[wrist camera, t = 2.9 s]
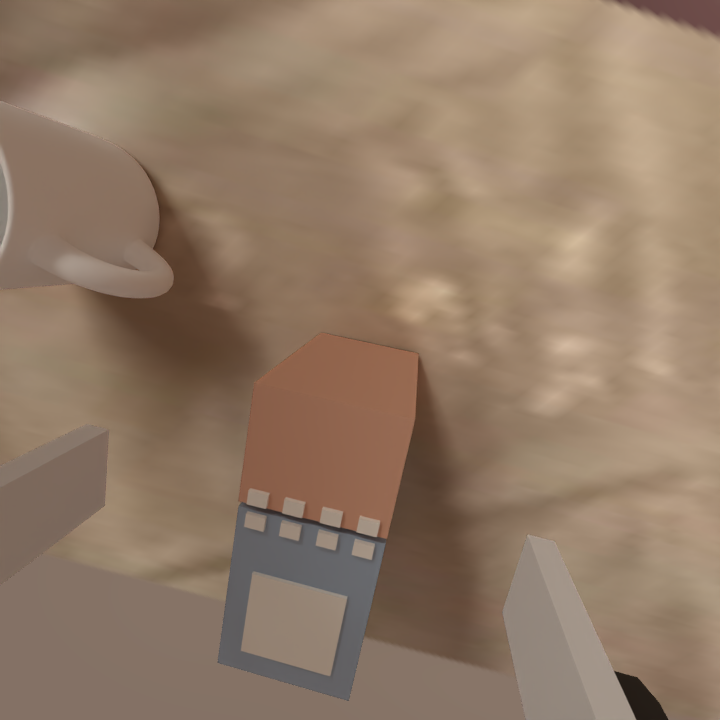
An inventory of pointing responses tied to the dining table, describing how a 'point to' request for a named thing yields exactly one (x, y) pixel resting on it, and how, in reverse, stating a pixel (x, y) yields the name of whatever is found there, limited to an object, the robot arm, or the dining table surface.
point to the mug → (75, 211)
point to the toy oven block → (298, 599)
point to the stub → (332, 434)
